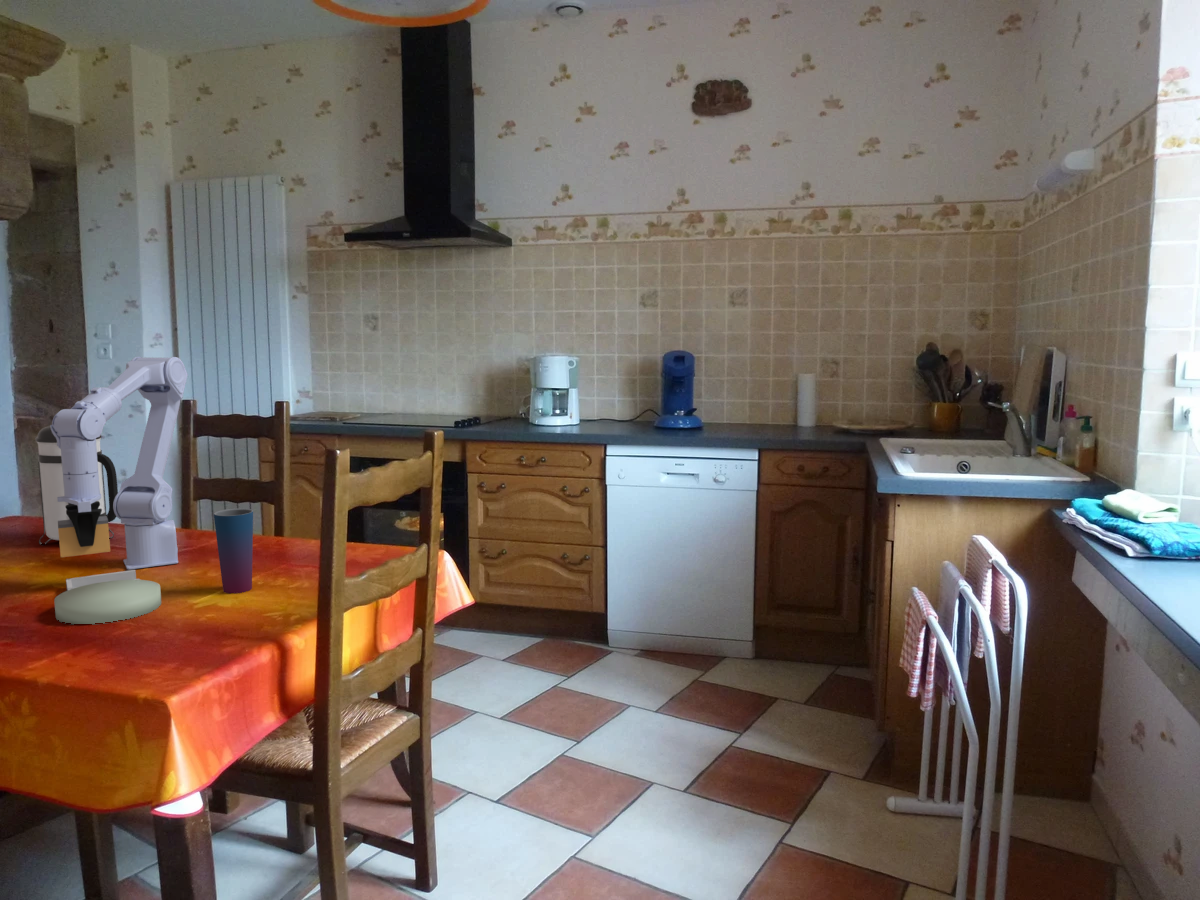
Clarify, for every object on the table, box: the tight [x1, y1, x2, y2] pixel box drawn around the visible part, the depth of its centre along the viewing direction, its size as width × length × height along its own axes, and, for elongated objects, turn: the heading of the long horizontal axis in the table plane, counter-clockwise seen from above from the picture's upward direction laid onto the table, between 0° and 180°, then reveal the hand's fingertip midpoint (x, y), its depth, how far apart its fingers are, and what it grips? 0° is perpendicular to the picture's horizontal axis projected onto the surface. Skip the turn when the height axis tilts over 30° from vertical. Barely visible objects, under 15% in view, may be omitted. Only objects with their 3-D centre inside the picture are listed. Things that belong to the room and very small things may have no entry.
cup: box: [213, 507, 254, 594], centre depth 158 cm, size 7×7×15 cm
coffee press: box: [34, 425, 119, 546], centre depth 193 cm, size 17×16×30 cm
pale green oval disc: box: [54, 569, 162, 625], centre depth 151 cm, size 16×26×3 cm, turn 34°
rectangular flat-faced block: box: [58, 516, 111, 558], centre depth 159 cm, size 8×4×6 cm, turn 123°
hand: (86, 543), depth 159 cm, fingers closed on rectangular flat-faced block, 4 cm apart
